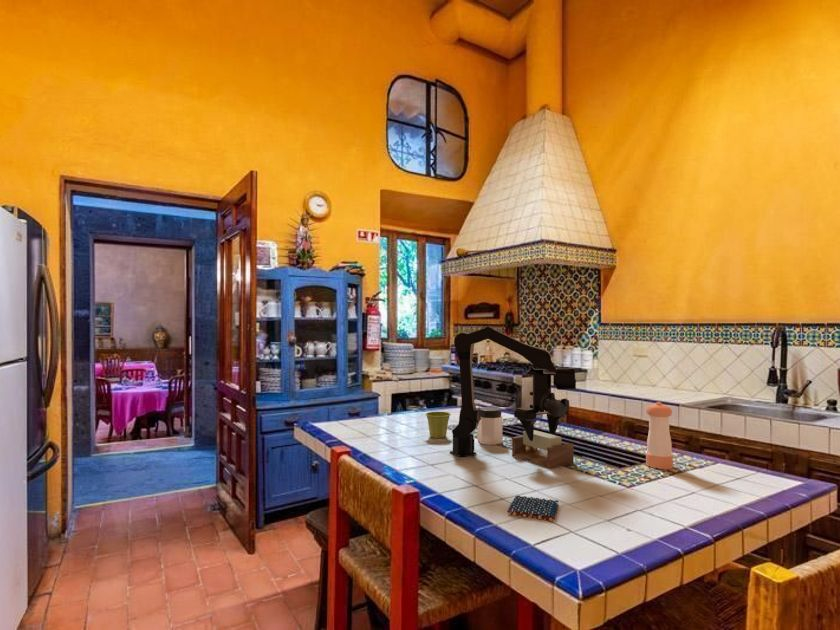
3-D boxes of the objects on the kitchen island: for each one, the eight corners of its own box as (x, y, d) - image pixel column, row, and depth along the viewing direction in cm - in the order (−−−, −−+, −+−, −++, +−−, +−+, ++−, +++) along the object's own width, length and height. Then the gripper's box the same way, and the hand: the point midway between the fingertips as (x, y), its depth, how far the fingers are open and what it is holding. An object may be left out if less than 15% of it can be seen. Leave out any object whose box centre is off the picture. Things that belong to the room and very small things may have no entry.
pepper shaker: (676, 465, 151) (675, 402, 151) (668, 471, 146) (667, 404, 146) (650, 461, 156) (650, 399, 156) (642, 466, 151) (642, 402, 151)
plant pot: (451, 439, 185) (451, 416, 185) (425, 439, 185) (425, 415, 185) (450, 434, 194) (450, 411, 194) (425, 433, 194) (425, 411, 194)
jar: (505, 444, 177) (505, 410, 177) (483, 445, 175) (483, 411, 176) (496, 438, 186) (496, 406, 186) (475, 439, 184) (475, 407, 184)
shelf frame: (573, 463, 153) (573, 443, 153) (550, 468, 148) (550, 448, 148) (534, 451, 167) (534, 433, 167) (512, 455, 162) (512, 437, 162)
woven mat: (514, 502, 122) (514, 493, 122) (559, 508, 118) (559, 499, 118) (505, 517, 112) (505, 508, 112) (554, 524, 108) (554, 515, 108)
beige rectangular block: (523, 443, 162) (523, 431, 162) (533, 442, 164) (533, 429, 164) (551, 452, 151) (551, 438, 152) (561, 450, 154) (561, 437, 154)
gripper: (539, 394, 146) (539, 448, 146) (582, 390, 156) (582, 440, 156) (512, 390, 156) (512, 440, 155) (555, 386, 166) (555, 433, 165)
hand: (541, 438), depth 158 cm, fingers open, 9 cm apart
